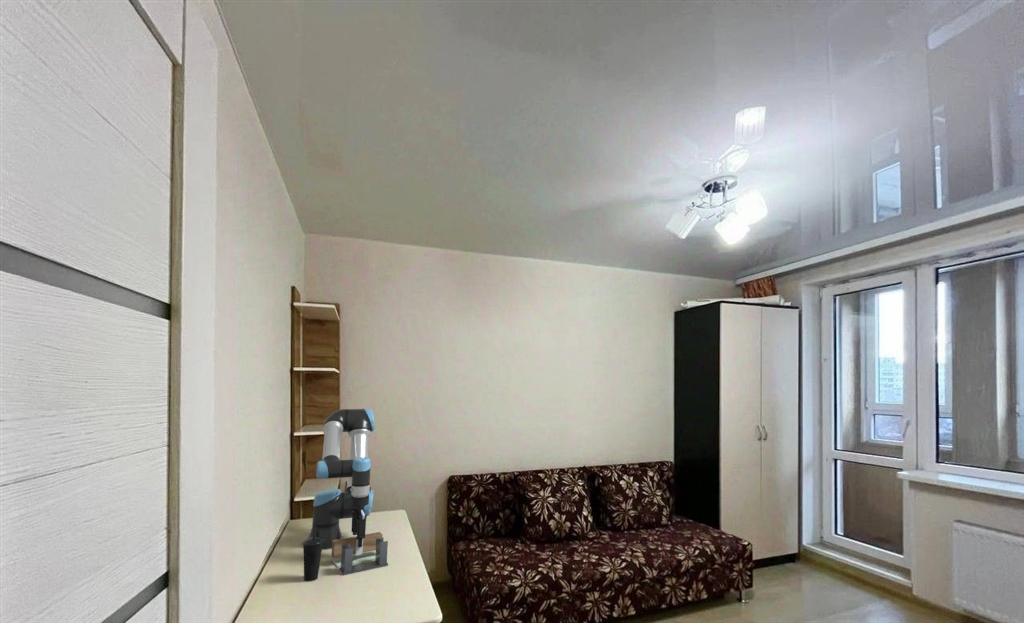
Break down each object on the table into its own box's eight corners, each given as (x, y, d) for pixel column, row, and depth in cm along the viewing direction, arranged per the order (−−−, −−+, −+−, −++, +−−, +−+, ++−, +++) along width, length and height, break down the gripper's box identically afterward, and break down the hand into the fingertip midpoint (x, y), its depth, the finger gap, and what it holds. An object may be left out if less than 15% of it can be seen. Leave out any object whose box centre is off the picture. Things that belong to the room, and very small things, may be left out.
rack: (339, 570, 190) (340, 545, 191) (383, 560, 200) (384, 537, 201) (343, 575, 185) (344, 549, 186) (388, 565, 195) (389, 541, 196)
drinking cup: (326, 576, 184) (329, 522, 187) (311, 584, 177) (315, 527, 180) (310, 573, 187) (313, 520, 189) (295, 581, 180) (299, 525, 182)
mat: (332, 560, 200) (332, 559, 200) (374, 552, 209) (374, 550, 210) (337, 567, 192) (337, 566, 192) (381, 558, 202) (381, 557, 202)
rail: (331, 555, 197) (332, 540, 198) (378, 546, 208) (379, 531, 209) (333, 558, 194) (334, 543, 195) (381, 549, 205) (382, 534, 206)
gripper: (345, 492, 209) (342, 548, 206) (357, 500, 195) (353, 561, 192) (362, 490, 213) (360, 545, 210) (375, 498, 199) (372, 557, 196)
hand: (357, 552), depth 201 cm, fingers closed on rail, 4 cm apart
